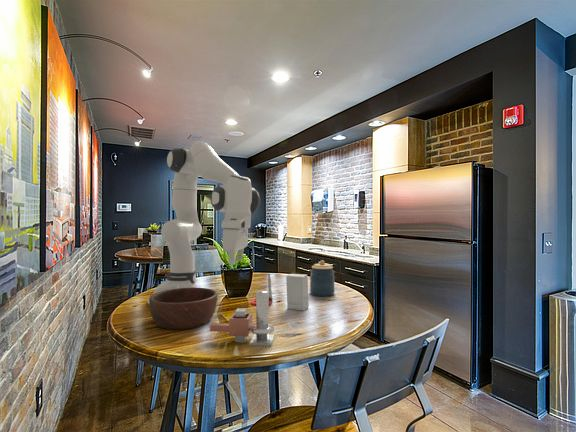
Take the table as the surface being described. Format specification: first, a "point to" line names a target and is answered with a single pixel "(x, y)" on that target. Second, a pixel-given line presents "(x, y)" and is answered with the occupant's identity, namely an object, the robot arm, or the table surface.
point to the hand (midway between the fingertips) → (235, 262)
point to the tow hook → (268, 290)
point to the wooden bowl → (183, 307)
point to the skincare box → (297, 291)
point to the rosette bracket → (245, 324)
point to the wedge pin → (240, 314)
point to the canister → (322, 280)
